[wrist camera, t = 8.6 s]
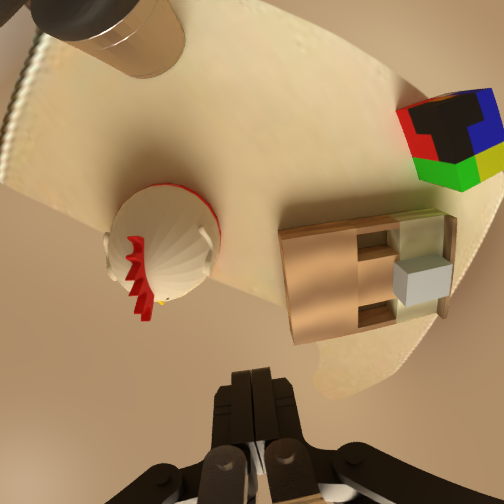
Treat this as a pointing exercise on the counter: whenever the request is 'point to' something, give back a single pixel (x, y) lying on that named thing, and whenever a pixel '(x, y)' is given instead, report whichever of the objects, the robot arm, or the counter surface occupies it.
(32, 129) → the counter surface
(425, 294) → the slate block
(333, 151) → the counter surface
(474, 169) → the puzzle toy
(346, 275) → the board
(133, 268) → the kitchen timer
